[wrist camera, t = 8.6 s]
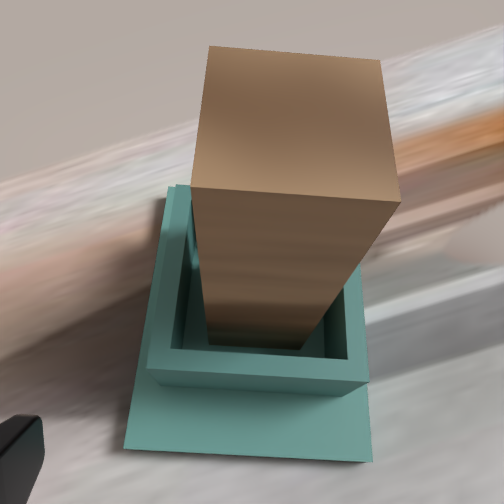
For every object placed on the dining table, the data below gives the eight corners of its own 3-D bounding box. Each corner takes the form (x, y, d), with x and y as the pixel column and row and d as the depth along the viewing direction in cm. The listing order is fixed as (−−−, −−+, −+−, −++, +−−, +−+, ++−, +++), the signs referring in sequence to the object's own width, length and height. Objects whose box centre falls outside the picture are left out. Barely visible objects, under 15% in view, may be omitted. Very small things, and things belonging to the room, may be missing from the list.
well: (365, 462, 19) (408, 461, 15) (127, 449, 19) (98, 444, 14) (347, 209, 26) (374, 156, 21) (170, 196, 25) (159, 139, 21)
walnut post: (299, 350, 20) (401, 201, 9) (208, 344, 20) (190, 186, 9) (298, 267, 22) (380, 59, 11) (216, 262, 22) (209, 45, 11)
